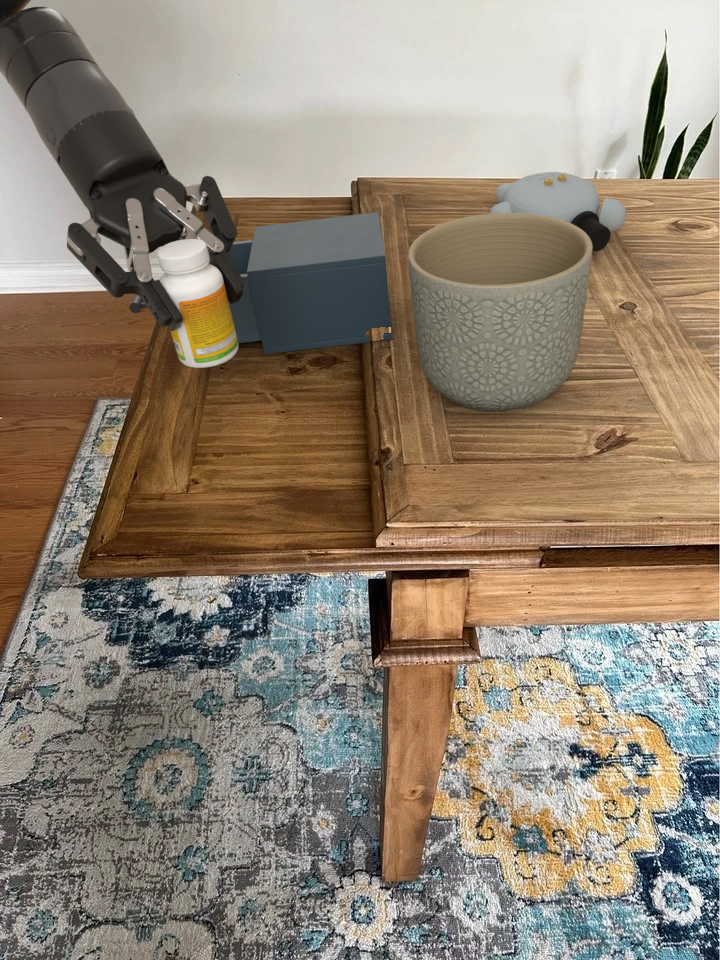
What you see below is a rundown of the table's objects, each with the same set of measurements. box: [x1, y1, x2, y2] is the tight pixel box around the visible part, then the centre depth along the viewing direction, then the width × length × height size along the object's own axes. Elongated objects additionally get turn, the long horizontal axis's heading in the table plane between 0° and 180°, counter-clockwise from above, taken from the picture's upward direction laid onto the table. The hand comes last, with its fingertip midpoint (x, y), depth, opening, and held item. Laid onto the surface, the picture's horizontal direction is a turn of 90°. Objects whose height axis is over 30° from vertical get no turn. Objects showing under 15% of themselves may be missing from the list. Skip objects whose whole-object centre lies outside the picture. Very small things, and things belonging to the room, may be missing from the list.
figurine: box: [489, 171, 627, 252], centre depth 103 cm, size 17×8×20 cm
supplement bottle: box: [156, 239, 239, 369], centre depth 62 cm, size 5×5×10 cm
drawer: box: [128, 239, 262, 344], centre depth 90 cm, size 20×12×9 cm, turn 92°
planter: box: [407, 213, 593, 413], centre depth 73 cm, size 17×17×15 cm
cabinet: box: [247, 211, 393, 355], centre depth 90 cm, size 16×14×11 cm
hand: (207, 311), depth 61 cm, fingers closed on supplement bottle, 5 cm apart
